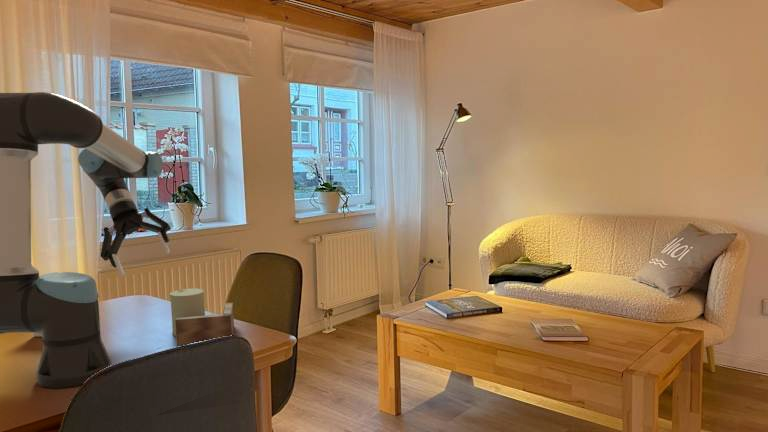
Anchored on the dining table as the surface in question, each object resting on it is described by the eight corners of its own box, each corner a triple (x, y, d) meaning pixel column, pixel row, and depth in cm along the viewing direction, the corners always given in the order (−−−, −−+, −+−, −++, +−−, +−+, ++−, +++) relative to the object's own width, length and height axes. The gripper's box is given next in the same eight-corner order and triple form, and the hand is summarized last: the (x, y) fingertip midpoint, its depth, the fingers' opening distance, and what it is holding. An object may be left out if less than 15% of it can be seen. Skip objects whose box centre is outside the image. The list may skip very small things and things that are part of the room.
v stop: (173, 345, 156) (171, 319, 155) (230, 325, 172) (229, 302, 172) (202, 351, 150) (200, 324, 149) (258, 331, 166) (257, 306, 165)
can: (192, 325, 174) (190, 285, 172) (213, 330, 168) (211, 288, 167) (165, 333, 166) (162, 291, 165) (185, 339, 161) (183, 295, 160)
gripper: (166, 196, 184) (190, 248, 174) (87, 233, 178) (108, 288, 168) (157, 182, 177) (182, 235, 168) (75, 220, 172) (96, 277, 162)
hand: (145, 262), depth 168 cm, fingers open, 13 cm apart
